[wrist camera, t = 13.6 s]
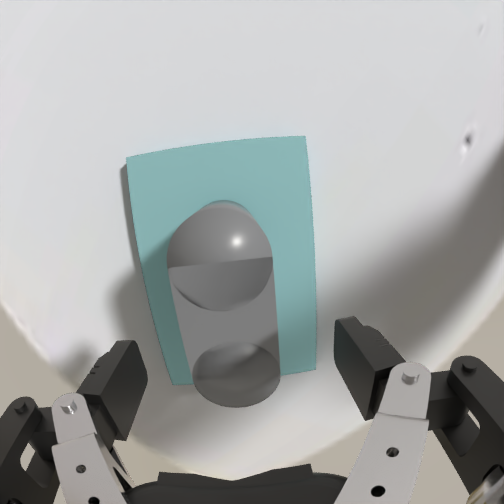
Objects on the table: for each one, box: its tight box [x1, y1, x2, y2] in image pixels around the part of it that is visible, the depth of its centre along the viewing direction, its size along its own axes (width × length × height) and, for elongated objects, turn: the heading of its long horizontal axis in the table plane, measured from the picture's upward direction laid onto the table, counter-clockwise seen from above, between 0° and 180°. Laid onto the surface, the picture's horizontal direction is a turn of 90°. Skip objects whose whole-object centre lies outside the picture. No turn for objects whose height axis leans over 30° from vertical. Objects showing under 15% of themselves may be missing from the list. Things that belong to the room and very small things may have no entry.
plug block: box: [167, 200, 281, 408], centre depth 16 cm, size 4×12×7 cm, turn 5°
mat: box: [126, 136, 316, 385], centre depth 19 cm, size 12×18×1 cm, turn 6°
